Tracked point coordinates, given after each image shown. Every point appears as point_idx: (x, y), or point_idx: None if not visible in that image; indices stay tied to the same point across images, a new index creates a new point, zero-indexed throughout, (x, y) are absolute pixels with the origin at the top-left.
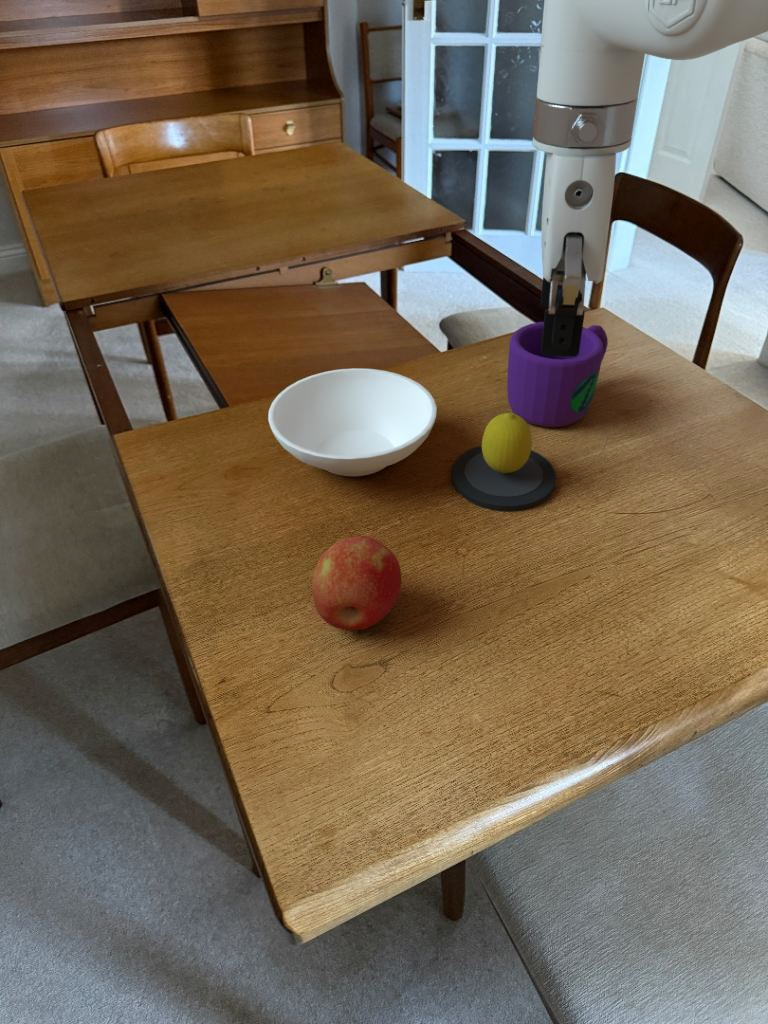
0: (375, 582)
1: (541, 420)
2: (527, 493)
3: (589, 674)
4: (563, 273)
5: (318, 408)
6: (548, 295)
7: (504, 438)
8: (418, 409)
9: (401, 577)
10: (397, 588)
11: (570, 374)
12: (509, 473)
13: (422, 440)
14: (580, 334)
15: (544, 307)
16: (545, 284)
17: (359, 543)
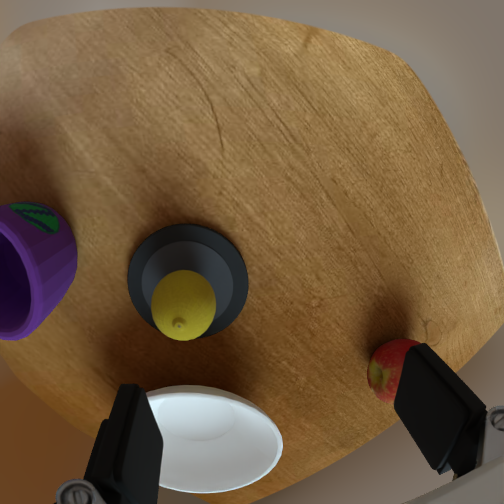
0: None
1: (76, 256)
2: (219, 255)
3: (430, 183)
4: (137, 492)
5: (168, 460)
6: (157, 458)
7: (210, 317)
8: None
9: (396, 346)
10: (412, 345)
11: (39, 249)
12: None
13: (220, 392)
14: (452, 372)
15: (162, 437)
16: (156, 487)
17: None
